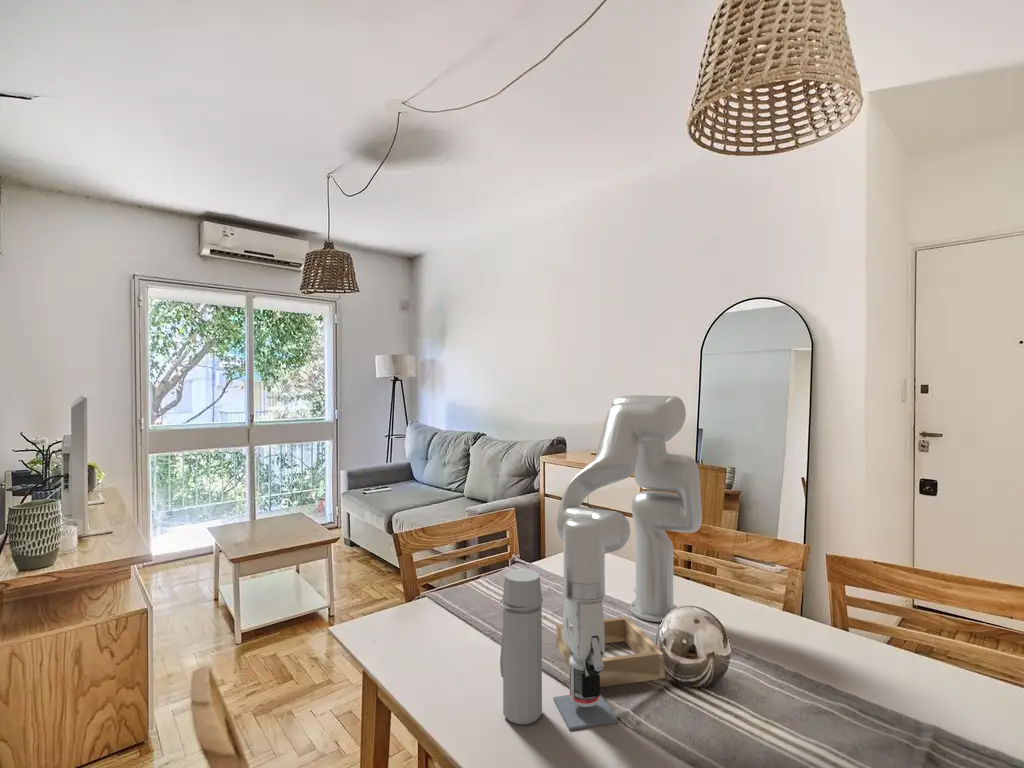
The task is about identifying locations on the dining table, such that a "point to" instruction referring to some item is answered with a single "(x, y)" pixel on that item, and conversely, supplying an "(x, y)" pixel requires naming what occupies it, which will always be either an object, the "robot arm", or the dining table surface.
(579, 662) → the pill bottle
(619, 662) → the oak crate
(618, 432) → the robot arm
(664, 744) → the dining table surface
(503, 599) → the water bottle
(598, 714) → the rubber mat
